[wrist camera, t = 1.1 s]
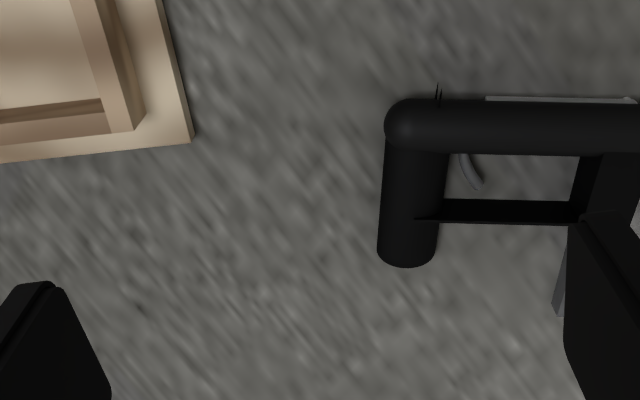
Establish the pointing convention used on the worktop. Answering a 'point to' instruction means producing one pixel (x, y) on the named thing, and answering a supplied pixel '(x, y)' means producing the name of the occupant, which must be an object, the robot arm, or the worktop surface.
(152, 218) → the worktop surface
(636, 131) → the door handle
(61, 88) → the holder
